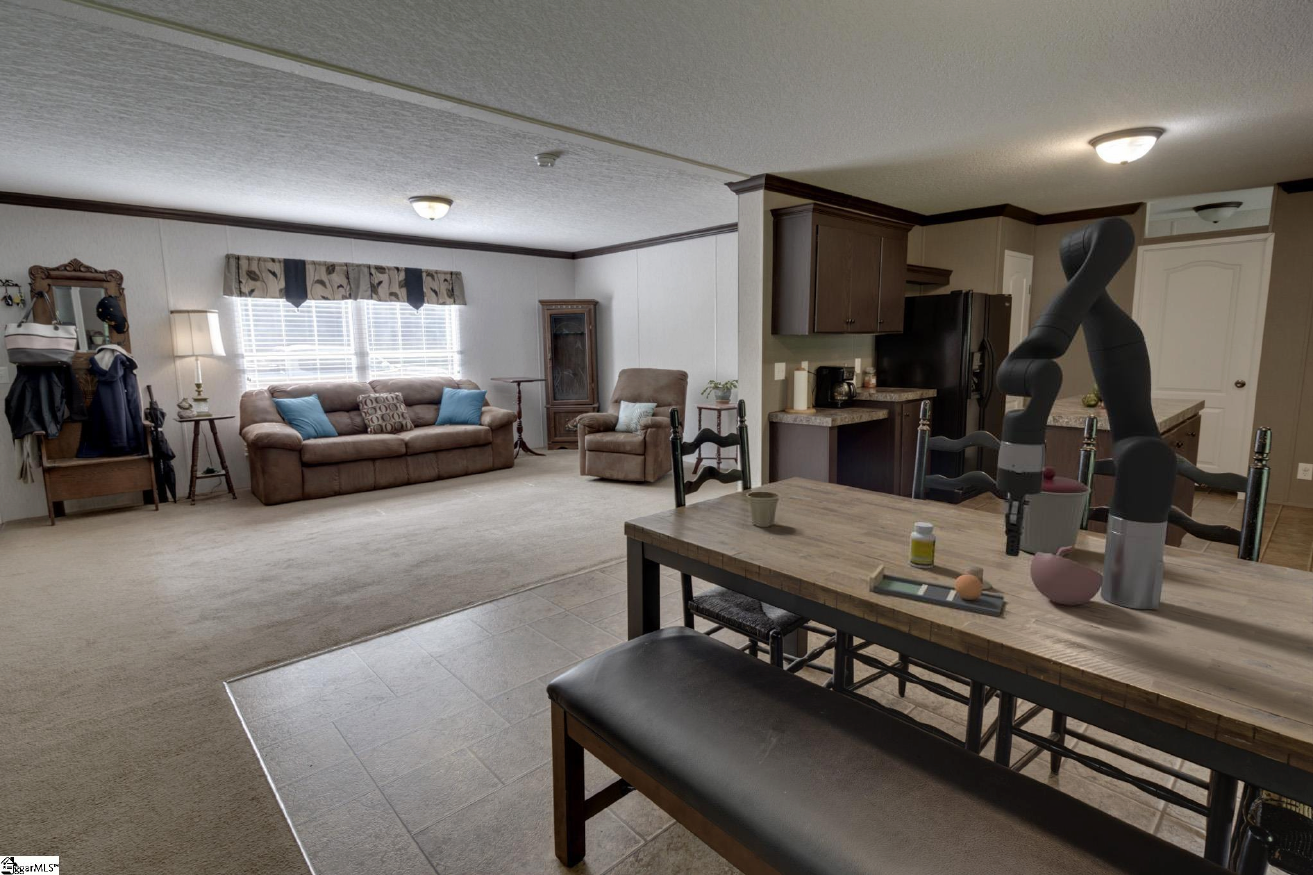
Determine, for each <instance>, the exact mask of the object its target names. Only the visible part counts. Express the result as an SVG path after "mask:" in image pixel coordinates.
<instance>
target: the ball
mask: <svg viewBox="0 0 1313 875" xmlns="http://www.w3.org/2000/svg"><path fill="white" fill-rule="evenodd" d="M954 587H955V590H956V592H957V594H958V595H959V596H960V597H961V598H963V599H966V600H974V599H977V598H978V597H979V596H980V595H981V594H982V592H983V591H984V590H983V586H982V583H981V581H980V580H979V579H978V578H977V577H975V576H973V575H970V574H962V575H960V576H958V577H957V579H955V582H954Z"/></svg>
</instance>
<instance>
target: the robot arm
mask: <svg viewBox="0 0 1313 875" xmlns="http://www.w3.org/2000/svg"><path fill="white" fill-rule="evenodd" d="M1135 244H1136V236H1135V231H1134V228H1133V227H1132V225H1131V224H1130V223H1129V222H1128V221H1127V220H1126V219H1124V218H1122V217H1119V216H1109V217H1106V218H1102V219H1099V220H1096V221H1093V222H1092V223H1089V224H1087V225H1084V226H1082V227H1080V228H1077V229H1075V230H1073V231H1070V232H1068V233H1067V234H1065V236H1063V238H1062V239H1061V241H1060V244H1059V248H1058V249H1059V252H1058V253H1059V260H1060V263H1061V267H1062V271H1063V273H1064V276H1065V279H1066V281H1067V283H1066V284H1065V285H1064V286H1063V287H1062V288H1060V290H1059V291H1058V292H1057V293H1056V294H1055V295H1054V296H1053V297H1052V298H1051V299H1049V301H1048V303H1046V304H1045V306H1044V307H1043V308H1042V310H1041V311H1040V313H1039V314H1038V316H1037V318H1036V320H1035V322H1034V323H1033V325H1032V326H1031V328H1030V330H1029V333H1028V334H1027V336H1026V337H1025V338H1024V339H1023V340H1022V341H1021V342H1020V343H1019V344H1018V345H1017V346H1016V347H1015V348H1014V349H1013V350H1012V351H1011V352H1010V353H1008V354H1007V356H1006V357H1005V358H1004V360H1003V361H1002V362H1001V364H1000V366H998V369H997V372H996V377H995V384H996V387H997V390H999V392H1000V393H1001V394H1003V395H1005V396H1009V397H1021V398H1030V400H1029V402H1028V403H1027V405H1026V407H1024V408H1020V409H1019V408H1018V409H1017V408H1016V409H1012V410H1008V411H1007V412H1005V414H1004V416H1003V418H1002V430H1001V431H1002V432H1001V440H1000V441H1001V442H1000V447H999V451H998V458H997V469H996V481H995V487H996V489H997V490H998V491H1001V492H1006V493H1007V494H1008V493H1009V494H1010V497H1009V498H1008V497H1005V500H1004V504H1003V510H1004V522H1003V523H1004V525H1005V531H1004V534H1005V536H1006V542H1005V543H1006V544H1005V555H1006V556H1010V557H1016V558H1017V557H1019V556H1020V551H1021V549H1020V541H1021V536H1022V534H1023V532H1022V530H1023V529H1024V526H1025V523H1026V519H1027V512H1028V509H1029V504H1030V501H1028V500H1025V498H1026V494H1029V495H1034V494H1039V493H1040V492H1041V491H1042V481H1043V471H1044V467H1045V461H1046V460H1045V459H1046V451H1045V450H1046V449H1045V445H1046V444H1045V443H1046V432H1047V423H1048V419H1049V417H1050V414H1051V413H1052V410H1053V407H1054V405H1055V401H1056V400H1057V397H1058V395H1059V393H1060V390H1061V387H1062V384H1063V379H1064V377H1063V376H1064V375H1063V370H1062V368H1061V366H1060V365H1059V363H1057V361H1055V360H1056V359H1059V358H1061V357H1063V356H1064V355H1065V354H1066V352H1067V351H1068V349H1069V348H1070V346H1071V344H1072V342H1073V340H1074V338H1075V336H1076V334H1077V332H1078V330H1079V329H1080V326H1081V327H1082V331H1083V336H1084V340H1085V345H1086V351H1087V353H1088V354H1087V355H1088V358H1089V364H1090V367H1091V371H1092V374H1093V378H1094V381H1095V384H1096V387H1097V391H1098V392H1099V396H1100V398H1101V400H1102V404H1103V405H1104V408H1105V412H1106V415H1107V420H1108V426H1109V433H1110V442H1111V454H1112V463H1113V465H1114V467H1115V477H1114V485H1113V486H1114V487H1113V493H1112V497H1111V500H1110V501H1109V507H1108V517H1107V518H1108V519H1107V529H1106V537H1105V550H1104V557H1103V558H1104V559H1103V569H1102V576H1103V581H1102V585H1101V587H1100V597H1101V598H1102V599H1104V600H1106V601H1107V602H1109V603H1111V604H1114V605H1118V606H1121V607H1125V608H1129V609H1137V610H1156V611H1159V610H1160V605H1161V597H1162V596H1161V595H1162V589H1163V588H1162V587H1163V579H1164V571H1165V562H1164V552H1165V544H1166V536H1167V526H1168V519H1169V513H1170V511H1171V508H1172V506H1173V502H1174V497H1175V496H1174V494H1175V488H1176V481H1177V480H1176V479H1177V474H1178V473H1177V472H1178V457H1177V454H1176V452H1175V450H1174V449H1173V448H1172V447H1171V446H1170V445H1169V443H1166V442H1165V441H1164V439H1163V437H1162V434H1161V432H1160V430H1159V426H1158V424H1157V421H1156V417H1155V414H1154V410H1153V406H1152V370H1151V369H1152V368H1151V362H1150V361H1151V360H1150V356H1149V351H1148V346H1147V343H1146V340H1145V335H1144V332H1143V330H1142V328H1141V326H1139V325H1138V323H1137V322H1136V321H1135V320H1134V319H1133V318H1132V317H1131V316H1130V315H1129V314H1127V313H1126V312H1125V311H1124V310H1123V309H1122V308H1121V307H1120V306H1119V305H1118V304H1117V303H1116V302H1115V301H1114V300H1113V299H1112V298H1111V296H1110V295H1109V293H1108V291H1107V287H1108V285H1109V284H1110V283H1111V281H1112V280H1113V279H1114V277H1115V276H1116V275H1117V274H1118V272H1119V271H1120V270H1121V268H1122V267H1123V266H1124V265H1125V264H1126V262H1127V261H1128V259H1129V258H1130V256H1131V255H1132V253H1133V251H1134V248H1135Z"/></svg>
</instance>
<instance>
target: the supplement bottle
mask: <svg viewBox="0 0 1313 875" xmlns="http://www.w3.org/2000/svg"><path fill="white" fill-rule="evenodd" d="M913 527H914V530H915V531H912V532H911V534H910V537H909V539H910V540H909V555H908V564H909V565H910V566H912V567H914V568H919V569H932V568H933V567H934V566H935V552H936V541H937V540H936V536H935V534H934V533H933V532H934V525H933V523H929V522H924V521H920V522H914V526H913Z"/></svg>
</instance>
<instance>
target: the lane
mask: <svg viewBox="0 0 1313 875" xmlns="http://www.w3.org/2000/svg"><path fill="white" fill-rule="evenodd" d="M868 590H869V592H875V593H879V594H884V595H887V596H888V595H889V596H892V597H893V596H894V597H899V598H904V599H909V600H915V601H918V602H923V603H928V604H933V605H939V606H943V607H949V608H953V609H959V610H963V611H969V612H972V611H973V613H978V614H983V615H989V616H991V617H993V616H994V617H998V618H999V617H1000V615H1001V612H1002V607H1003V605H1004V599H1005V595H1000V594H995V593H990V592H989V593H988V592H984V591H982V594H981V595H980V596H979V597H978V598H977V599H974V600H966V599H963V598H961V597H960V596H959V595H958V594H957V592H956V590H955V586H953V585H947V584H946V585H945V584H941V583H934V582H930V581H924V580H918V579H914V578H909V577H903V576H898V575H892V574H887V573H886V574H885V564H879V566H878V567H877V568H876V570H874V572H872V574H871V575H870V577H869V589H868Z"/></svg>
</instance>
